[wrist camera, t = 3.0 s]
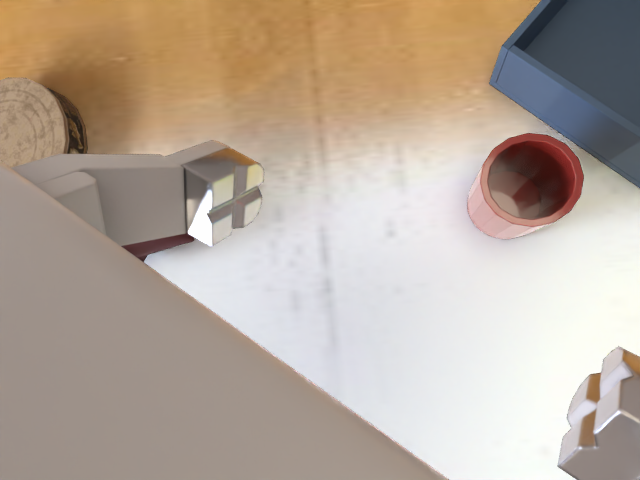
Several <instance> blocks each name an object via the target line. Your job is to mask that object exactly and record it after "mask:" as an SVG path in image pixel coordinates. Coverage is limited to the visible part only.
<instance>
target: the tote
mask: <svg viewBox="0 0 640 480" xmlns="http://www.w3.org/2000/svg"><path fill="white" fill-rule="evenodd" d="M489 84H490V85H492V86H493V87H495V88H496V89H497V90H499V91H500V92H502V93H503V94H505V95H506V96H508V97H509V98H510V99H512V100H513V101H515V102H516V103H518V104H519V105H521V106H522V107H523V108H525V109H526V110H528V111H529V112H531V113H532V114H534V115H535V116H536V117H538V118H539V119H541V120H542V121H544V122H545V123H547V124H548V125H549V126H551V127H552V128H554V129H555V130H557V131H558V132H560V133H561V134H562V135H564V136H565V137H567V138H568V139H570V140H571V141H573V142H574V143H575V144H577V145H578V146H580V147H581V148H583V149H584V150H586V151H587V152H588V153H590V154H591V155H593V156H594V157H596V158H597V159H599V160H600V161H601V162H603V163H604V164H606V165H607V166H609V167H610V168H612V169H613V170H614V171H616V172H617V173H619V174H620V175H622V176H623V177H625V178H626V179H628V180H629V181H630V182H632V183H633V184H635V185H636V186H638V187H639V188H640V0H541V1H540V3H539V4H538V5H537V6H536V7H535V8H534V10H533V11H532V12H531V13H530V14H529V15H528V16H527V18H526V19H525V20H524V21H523V22H522V23H521V25H520V26H519V27H518V28H517V29H516V30H515V31H514V33H513V34H512V35H511V36H510V37H509V38H508V39H507V41H506V42H505V43H504V44H503V45H502V47H501V50H500V53H499V56H498V59H497V62H496V65H495V68H494V71H493V74H492V76H491V79H490V82H489Z"/></svg>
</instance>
